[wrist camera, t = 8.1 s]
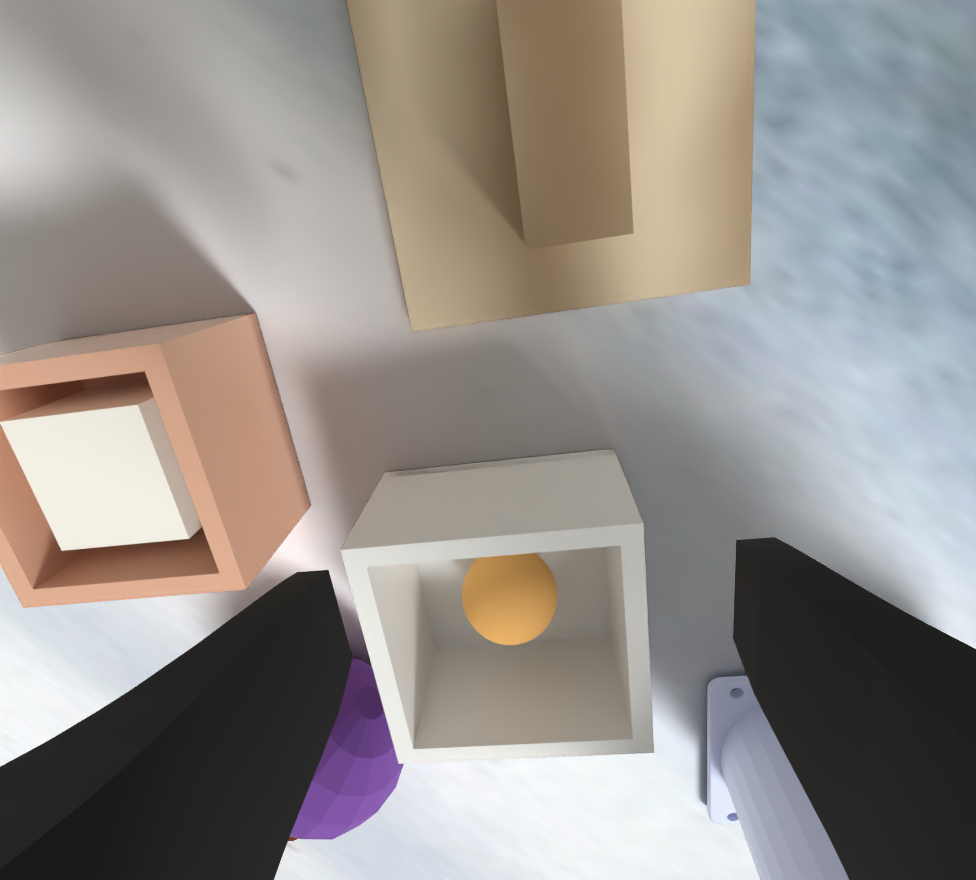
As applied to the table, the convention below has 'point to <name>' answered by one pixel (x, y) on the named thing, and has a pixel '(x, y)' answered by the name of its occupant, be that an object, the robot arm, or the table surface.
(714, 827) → the table surface
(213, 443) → the salmon open box
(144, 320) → the table surface
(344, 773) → the kendama
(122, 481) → the white block
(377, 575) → the white open box
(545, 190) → the lid
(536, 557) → the orange ball
